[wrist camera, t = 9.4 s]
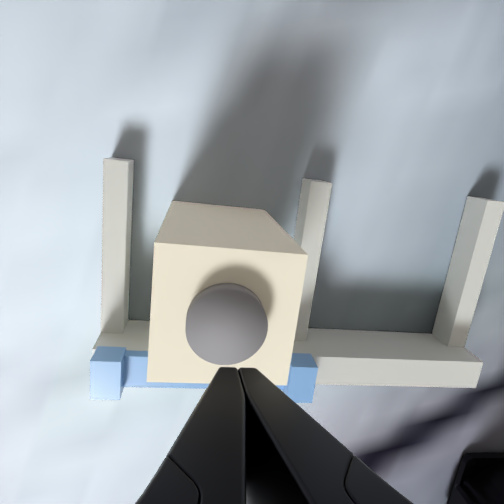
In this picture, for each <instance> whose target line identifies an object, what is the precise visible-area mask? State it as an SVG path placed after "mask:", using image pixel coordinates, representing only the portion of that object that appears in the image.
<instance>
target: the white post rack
mask: <svg viewBox="0 0 504 504" xmlns="http://www.w3.org/2000/svg"><path fill="white" fill-rule="evenodd" d="M133 173H134V160H132V159H122V158H113V157H110V158H105V159H104V161H103V225H102V289H101V333H100V335H99V337H98V339H97V341H96V343H95V345H94V347H93V356H92V358H91V360H90V400H120V398H121V394H122V391H123V388H124V387H157V388H207V387H208V385H209V384H204V383H164V382H147V365H148V347H149V329H150V321H145V320H128V314H129V286H130V258H131V230H132V202H133ZM331 188H332V183H329V182H326V181H323V180H315V179H306V178H303V179H302V186H301V193H300V200H299V207H298V213H297V220H296V227H295V234H294V241H295V242H296V243H297V244H298V245H299V246H300V247H301V248H302V249H303V250H304V251H305V252H306V253H307V254H308V259H307V265H306V271H305V277H304V284H303V290H302V296H301V302H300V308H299V314H298V320H297V327H296V333H295V339H294V345H293V351H292V357H291V363H290V370H289V376H288V382H287V386H285V385H276V386H277V387H278V388H279V389H280V390H282V391H283V392H284V393H285V394H286V395H287V396H288V397H289V398H291V399H292V400H293V401H294V402H296V403H312V399H313V394H314V388H315V384H324V385H369V386H415V387H460V388H476V385H477V382H478V379H479V375H480V372H481V369H482V365H483V362H482V361H481V360H480V359H479V358H477V357H476V356H475V355H473V354H472V353H471V352H470V351H468V350H467V349H466V348H464V347H465V343H466V340H467V336H468V333H469V329H470V326H471V322H472V319H473V315H474V312H475V308H476V305H477V301H478V298H479V294H480V291H481V287H482V284H483V280H484V277H485V273H486V270H487V266H488V263H489V259H490V256H491V252H492V249H493V245H494V242H495V238H496V235H497V231H498V228H499V224H500V221H501V217H502V214H503V210H504V202H502V201H497V200H492V199H487V198H480V197H471V196H467V200H466V204H465V208H464V212H463V215H462V219H461V223H460V227H459V231H458V235H457V239H456V242H455V246H454V250H453V254H452V258H451V262H450V266H449V270H448V273H447V277H446V281H445V285H444V289H443V293H442V297H441V300H440V304H439V308H438V312H437V316H436V320H435V324H434V327H433V331H432V334H428V333H407V332H385V331H363V330H341V329H319V328H308V325H309V319H310V313H311V307H312V301H313V295H314V289H315V283H316V277H317V271H318V265H319V259H320V253H321V247H322V242H323V236H324V230H325V224H326V218H327V212H328V206H329V200H330V194H331Z"/></svg>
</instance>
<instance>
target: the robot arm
mask: <svg viewBox="0 0 504 504" xmlns="http://www.w3.org/2000/svg"><path fill="white" fill-rule="evenodd" d="M135 504H413V503H412V502H410V501H409V500H408V499H407V498H405V497H404V496H403V495H401V494H400V493H399V492H398V491H396V490H395V489H394V488H392V487H391V486H390V485H389V484H388V483H387V482H385V481H384V480H383V479H382V478H381V477H379V476H378V475H377V474H376V473H375V472H373V471H372V470H371V469H370V468H369V467H368V466H367V465H365V464H364V463H363V462H362V461H361V460H360V459H359V458H357V457H356V456H353V453H352V452H350V451H349V450H348V449H347V448H346V447H345V446H344V445H343V444H341V443H340V442H339V441H338V440H337V439H336V438H335V437H333V436H332V435H331V434H330V433H329V432H328V431H327V430H326V429H324V428H323V427H322V426H321V425H320V424H319V423H318V422H317V421H315V420H314V419H313V418H312V417H311V416H310V415H309V414H307V413H306V412H305V411H304V410H303V409H302V408H301V407H300V406H298V405H297V404H296V403H295V402H294V401H293V400H292V399H291V398H289V397H288V396H287V395H286V394H285V393H284V392H283V391H281V390H280V389H279V388H278V387H277V386H276V385H275V384H274V383H272V382H271V381H270V380H269V379H268V378H267V377H266V376H265V375H263V374H262V373H261V372H260V371H259V370H258V369H256V368H243V367H241V368H239V369H237V368H235V367H220V368H219V369H218V370H217V372H216V374H215V375H214V377H213V379H212V380H211V382H210V384H209V385H208V387H207V389H206V390H205V392H204V394H203V395H202V397H201V399H200V400H199V402H198V404H197V406H196V407H195V409H194V411H193V412H192V414H191V416H190V417H189V419H188V421H187V422H186V424H185V426H184V427H183V429H182V431H181V432H180V434H179V436H178V437H177V439H176V441H175V442H174V444H173V446H172V447H171V449H170V451H169V453H168V454H167V456H166V458H165V459H164V461H163V462H162V464H161V466H160V467H159V469H158V471H157V472H156V474H155V475H154V477H153V478H152V480H151V481H150V483H149V485H148V486H147V488H146V489H145V491H144V492H143V494H142V495H141V496H140V498H139V499H138V500H137V502H136V503H135ZM448 504H504V453H469V454H466V455H465V456H464V457H463V458H462V460H461V463H460V467H459V470H458V473H457V476H456V480H455V483H454V486H453V489H452V492H451V496H450V499H449V502H448Z"/></svg>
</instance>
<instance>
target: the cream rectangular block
mask: <svg viewBox="0 0 504 504" xmlns="http://www.w3.org/2000/svg"><path fill="white" fill-rule="evenodd" d="M307 259H308V254H307V253H306V252H305V251H304V250H303V249H302V248H301V247H300V246H299V245H298V244H297V243H296V242H295V241H294V240H293V239H292V238H291V236H290V235H289V234H288V233H287V232H286V231H285V230H284V229H283V228H282V227H281V226H280V225H279V224H278V223H277V222H276V221H275V220H274V219H273V218H272V217H271V216H270V215H269V214H268V213H267V212H266V211H265V210H263V209H253V208H242V207H232V206H222V205H212V204H202V203H191V202H181V201H172V202H171V205H170V207H169V209H168V212H167V214H166V216H165V219H164V221H163V223H162V226H161V228H160V230H159V233H158V235H157V237H156V240H155V242H154V257H153V275H152V293H151V311H150V329H149V347H148V365H147V382H164V383H204V384H210V382H211V380H212V379H213V377H214V375H215V374H216V372H217V370H218V369H219V368H220V367H235V368H237V369H239V368H241V367H243V368H256V369H258V370H259V371H260V372H261V373H262V374H263V375H265V376H266V377H267V378H268V379H269V380H270V381H271V382H272V383H274V384H275V385H285V386H287V382H288V376H289V370H290V363H291V357H292V351H293V345H294V339H295V333H296V327H297V320H298V314H299V308H300V302H301V296H302V290H303V284H304V277H305V271H306V265H307Z"/></svg>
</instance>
